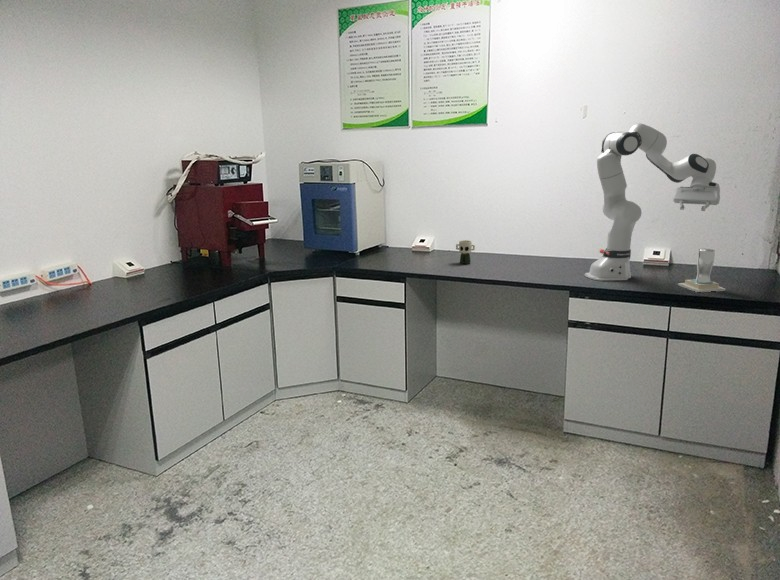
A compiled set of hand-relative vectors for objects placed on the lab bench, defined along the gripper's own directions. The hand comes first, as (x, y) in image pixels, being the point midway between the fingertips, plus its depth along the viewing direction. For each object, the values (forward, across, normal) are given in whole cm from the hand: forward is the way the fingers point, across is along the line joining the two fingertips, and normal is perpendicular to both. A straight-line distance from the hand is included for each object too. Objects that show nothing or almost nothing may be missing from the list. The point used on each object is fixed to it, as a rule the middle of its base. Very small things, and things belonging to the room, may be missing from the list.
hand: (692, 209), depth 277 cm
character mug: (+48, -108, 0) cm, 119 cm away
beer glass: (+33, +12, +11) cm, 37 cm away
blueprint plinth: (+35, +11, +14) cm, 39 cm away
